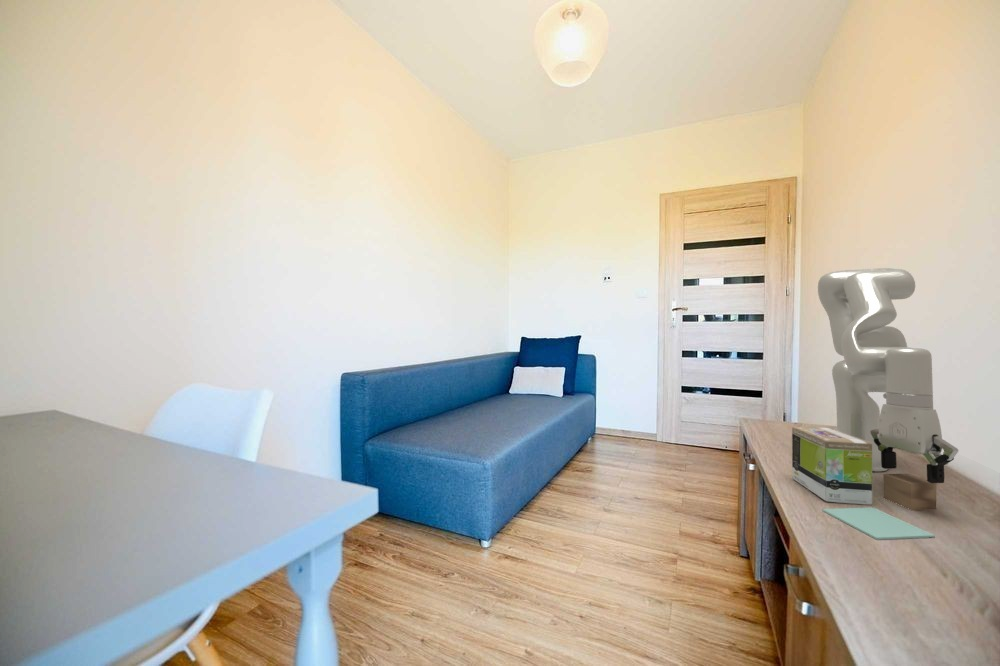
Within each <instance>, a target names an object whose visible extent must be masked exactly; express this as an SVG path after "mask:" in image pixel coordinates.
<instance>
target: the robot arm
mask: <svg viewBox="0 0 1000 666" xmlns="http://www.w3.org/2000/svg"><path fill="white" fill-rule="evenodd" d="M915 290H916V280H915V278H914V276H913V275H912V273H910V271H907V270H906V269H902V268H901V269H900V268H889V267H888V268H887V267H883V268H881V267H880V268H867V269H866V268H863V269H848V270H837V271H832V272H828V273H825V274H824V275H822V276H820V278H819V279H818V283H817V293H818V298H819V301H820V304H821V305H822V307H823V309H824V311H825V312H826V314H827V316H828V320H829V326H830V332H831V337H832V342H833V343H832V344H833V347H834V350H835V352H836V353H837V355H839V356H842V357H843V358H844V359H843V360H840V361H838V362H836V363H835V364H834V365H833V367H832V370H831V372H832V373H831V375H832V380H833V384H834V390H835V399H836V405H835V406H836V430H837V431H840V432H843V433H846V434H848V435H851V436H854V437H857V438H859V439H862V440H865V441H868V442H870V443H872V472H886V471H888V470H891V469H897V453H896V451H894V450H895V449H897V450H900V451H905V452H908V453H913V454H917V455H918V454H920V455H921V454H922V455H923V456H924V457H925V459H926V460H927V461H928V462H929V463H927V464H926V480H927V481H928V482H930V483H936V484H944V483H945V466H947V465H948V464H949V463H951V462H952V461H954V459H955V457H956V456H957V454H958V453H959V449H958V448H957V447H956V446H954V445H952V444H951V443H950V442H948V441H946V440H944V439H943V435H942V434H943V433H942V429H941V423H940V418H939V416H938V412H937V410H936V409H934V395H933V393H934V391H933V390H934V389H933V385H934V384H933V383H934V382H933V356H932V352H931V351H930V350H928V349H925V348H915V347H908V344H907V341H906V338H905V335H904V334H903V332H902V331H901V330H900V329H898V328H897V327H894V326H889V325H890V324H891V323H893V322H894V321H895V320H896V318H897V316H898V313H897V310H896V308H895V305H894V303H893V301H896V300H906V299H908V298H910V297H911V296H912V295H913V294H914V292H915ZM869 393H883V394H882V397H883V399H885V400H886V401H885V402H886V403H884V404H882V406H881V409H880V407H879V405H878V404H877V402H876V401H875V400H874V399H873V398H872V397H871V396H870V395H869ZM942 451H943V452H942Z"/></svg>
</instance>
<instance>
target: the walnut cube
mask: <svg viewBox="0 0 1000 666" xmlns="http://www.w3.org/2000/svg"><path fill="white" fill-rule="evenodd" d="M882 477H883V481H882V482H883V499H884V498H885V499H884V500H886V499H887V500H886V501H888V500H890V501H889V502H891V501H892V502H891V503H893V502H894V503H893V504H895V503H897V504H896V505H898V504H899V505H898V506H900V505H902V506H901V507H903V506H904V507H903V508H905V507H906V508H905V509H907V508H909V509H908V510H910V509H911V510H910V511H923V510H924V511H925V510H937V483H930V482H928V481H927V479H925V478H922V477H919V476H917V475H913V474H909V473H905V472H904V473H883V476H882Z"/></svg>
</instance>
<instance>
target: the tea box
mask: <svg viewBox="0 0 1000 666" xmlns="http://www.w3.org/2000/svg"><path fill="white" fill-rule="evenodd" d="M791 430H792V431H791V434H792V435H791V439H792V441H791V445H792V446H791V448H792V449H791V455H792V457H791V459H792V461H791V463H792V465H791V466H792V467H791V468H792V469H791V471H792V480H794V481H796V482H797V483H798V484H800V485H802V486H803V487H805V488H806V489H807V490H809V491H811V492H812V493H814V494H815V495H816V496H818V497H819V498H821V499H822V500H824V501H825V502H829V503H839V504H851V505H871V506H872V504H873V471H872V443H870V442H868V441H865V440H862V439H859V438H857V437H854V436H851V435H848V434H846V433H843V432H840V431H837V429H835V428H833V427H832V428H831V427H830V428H829V427H814V426H813V427H810V426H791Z"/></svg>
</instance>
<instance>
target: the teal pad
mask: <svg viewBox="0 0 1000 666" xmlns="http://www.w3.org/2000/svg"><path fill="white" fill-rule="evenodd" d="M821 511H822V512H823V513H824V514H825V513H826V514H827V515H829V516H831V517H833V518H834V519H837V520H839V521H840V522H842V523H844V524H847V525H848V526H850V527H852V528H854V529H856V530H857V531H859V532H861V533H862V534H865V535H866V536H869V537H871V538H872V539H875V540H880V541H881V540H899V539H901V540H902V539H904V540H905V539H926V538H927V539H928V538H929V537H932V538H935V537H936V536H935V534H933V533H931V532H929V531H926V530H924V529H922V528H920V527H917V526H915V525H912V524H911V523H908V522H906V521H904V520H902V519H900V518H897V517H895V516H893V515H891V514H888V513H886V512H884V511H882V510H881V509H877V508H876V507H872V506H871V507H848V508H847V507H845V508H823V509H821Z"/></svg>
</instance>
